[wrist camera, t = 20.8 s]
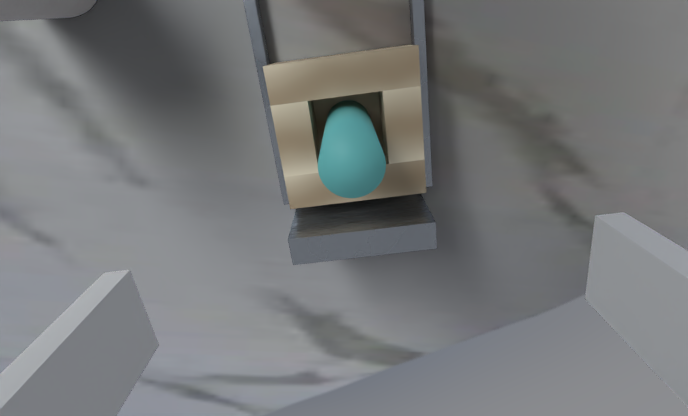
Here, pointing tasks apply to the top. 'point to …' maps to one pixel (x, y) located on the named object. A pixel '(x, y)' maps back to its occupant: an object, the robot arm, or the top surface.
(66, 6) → the coffee cup
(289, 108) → the block
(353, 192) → the dowel
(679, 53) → the top surface
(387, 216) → the backstop
